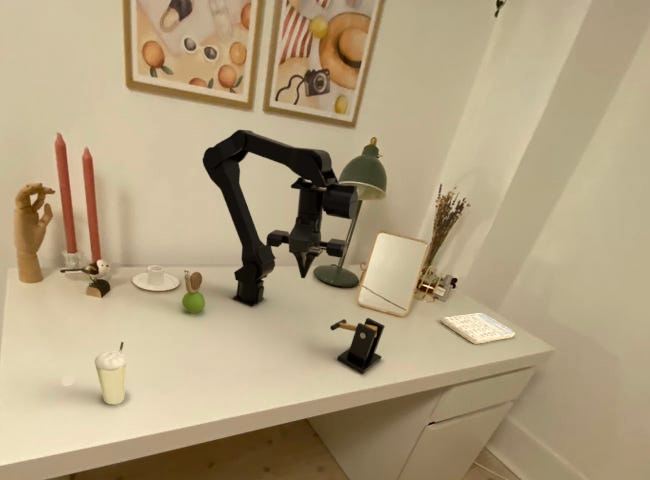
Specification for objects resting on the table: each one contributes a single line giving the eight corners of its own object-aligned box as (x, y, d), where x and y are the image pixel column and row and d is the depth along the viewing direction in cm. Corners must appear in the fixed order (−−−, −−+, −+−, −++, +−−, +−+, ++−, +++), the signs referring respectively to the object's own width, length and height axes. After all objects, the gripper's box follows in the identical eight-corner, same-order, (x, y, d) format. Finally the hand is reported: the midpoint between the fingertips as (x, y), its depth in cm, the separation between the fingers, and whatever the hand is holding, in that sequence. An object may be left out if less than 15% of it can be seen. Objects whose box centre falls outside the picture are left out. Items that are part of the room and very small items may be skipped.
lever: (330, 332, 88) (330, 322, 87) (342, 325, 92) (342, 316, 91) (368, 341, 82) (369, 331, 81) (379, 334, 86) (380, 324, 85)
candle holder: (188, 286, 105) (188, 272, 102) (151, 297, 96) (150, 281, 94) (161, 271, 110) (161, 257, 108) (123, 279, 101) (122, 264, 99)
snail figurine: (175, 313, 92) (175, 267, 85) (190, 304, 97) (192, 259, 90) (194, 320, 90) (196, 274, 84) (208, 311, 96) (211, 266, 89)
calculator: (439, 321, 116) (442, 316, 115) (480, 316, 125) (482, 311, 124) (474, 345, 107) (477, 339, 106) (514, 337, 116) (518, 332, 115)
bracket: (336, 360, 87) (348, 323, 82) (355, 347, 94) (367, 313, 88) (362, 374, 84) (375, 337, 79) (380, 360, 91) (393, 325, 85)
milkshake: (137, 393, 67) (134, 346, 61) (116, 411, 62) (111, 362, 57) (115, 384, 68) (111, 337, 62) (93, 401, 63) (86, 352, 58)
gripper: (259, 211, 81) (256, 280, 89) (343, 224, 77) (332, 295, 85) (276, 205, 91) (272, 268, 99) (352, 215, 86) (341, 280, 95)
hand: (303, 277), depth 94 cm, fingers closed
